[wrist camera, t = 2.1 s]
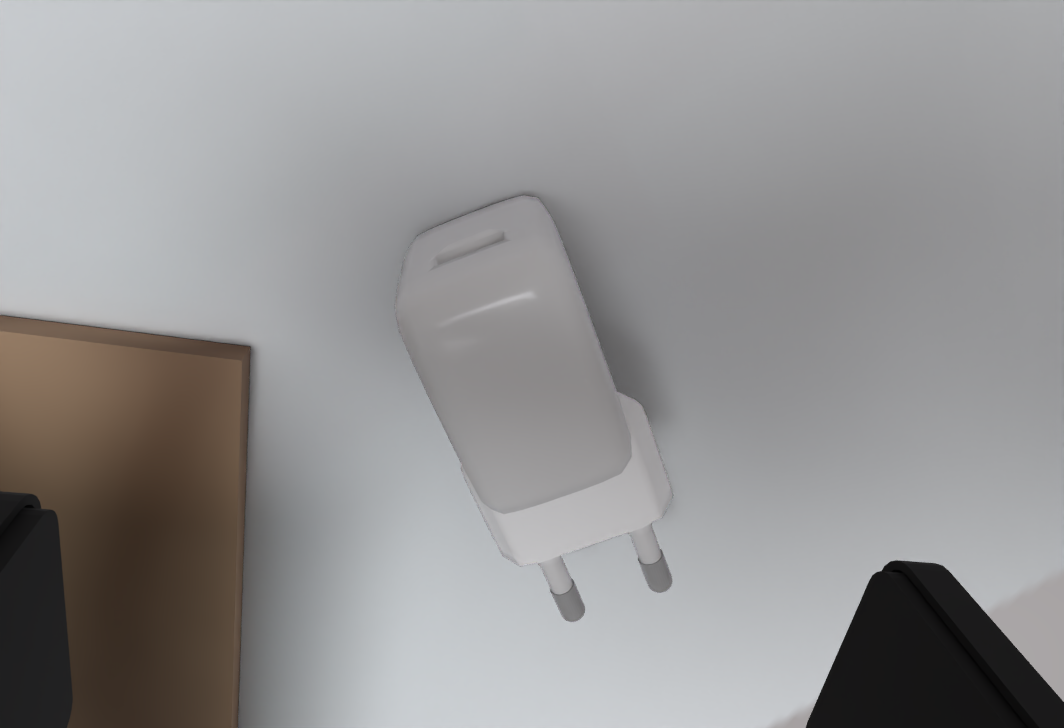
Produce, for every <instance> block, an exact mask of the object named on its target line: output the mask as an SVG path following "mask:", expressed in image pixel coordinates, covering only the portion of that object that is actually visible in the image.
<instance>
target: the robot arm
mask: <svg viewBox="0 0 1064 728" xmlns="http://www.w3.org/2000/svg"><path fill="white" fill-rule="evenodd" d="M72 703H73V693H72V680H71V668H70V656H69V644H68V632H67V620H66V608H65V596H64V584H63V572H62V560H61V548H60V536H59V523H58V517H57V514H56V513H55V511H53V510H51V509H41V504H40V501H39V499H38V497H37V496H35V495H33V494H29V493H16V492H3V491H0V728H67V726H68V723H69V719H70V715H71V711H72ZM806 728H1064V702H1063V701H1062V700H1061V699H1060V697H1059V696H1058V695H1057V694H1056V693H1055V692H1054V690H1053V689H1052V688H1051V687H1050V686H1049V685H1048V684H1047V682H1046V681H1045V680H1044V679H1043V678H1042V677H1041V676H1040V674H1039V673H1038V672H1037V671H1036V670H1035V669H1034V668H1033V667H1032V665H1031V664H1030V663H1029V662H1028V661H1027V660H1026V659H1025V657H1024V656H1023V655H1022V654H1021V653H1020V652H1019V651H1018V649H1017V648H1016V647H1015V646H1014V645H1013V644H1012V643H1011V641H1010V640H1009V639H1008V638H1007V637H1006V636H1005V635H1004V633H1003V632H1002V631H1001V630H1000V629H999V628H998V627H997V625H996V624H995V623H994V622H993V621H992V620H991V619H990V617H989V616H988V615H987V614H986V613H985V612H984V611H983V609H982V608H981V607H980V606H979V605H978V604H977V603H976V601H975V600H974V599H973V598H972V597H971V596H970V595H969V593H968V592H967V591H966V590H965V589H964V588H963V587H962V585H961V584H960V583H959V582H958V581H957V580H956V579H955V577H954V576H953V575H952V574H951V573H950V572H949V571H948V570H947V569H946V568H945V567H943V566H942V565H939V564H936V563H923V562H910V561H891V562H889V563H888V564H887V565H885V566H884V568H883V570H882V571H880V572H876V573H875V574H874V575H873V576H872V577H871V579H870V581H869V583H868V585H867V588H866V590H865V592H864V594H863V597H862V599H861V601H860V604H859V606H858V608H857V610H856V613H855V615H854V617H853V620H852V622H851V624H850V626H849V629H848V631H847V633H846V635H845V638H844V640H843V642H842V645H841V647H840V649H839V651H838V654H837V656H836V658H835V661H834V663H833V665H832V667H831V670H830V672H829V674H828V677H827V679H826V681H825V683H824V686H823V688H822V690H821V693H820V695H819V697H818V699H817V702H816V704H815V706H814V709H813V711H812V713H811V715H810V718H809V720H808V722H807V726H806Z"/></svg>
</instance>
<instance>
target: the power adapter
mask: <svg viewBox="0 0 1064 728" xmlns="http://www.w3.org/2000/svg"><path fill="white" fill-rule="evenodd" d="M395 312H396V317H397V323H398V328H399V333H400V335H401V337H402V340H403V342H404V344H405V347H406V349H407V351H408V353H409V356H410V358H411V360H412V363H413V365H414V367H415V369H416V371H417V373H418V375H419V378H420V380H421V382H422V384H423V386H424V388H425V390H426V392H427V394H428V397H429V399H430V401H431V403H432V405H433V407H434V409H435V411H436V413H437V415H438V417H439V419H440V421H441V423H442V425H443V428H444V430H445V432H446V434H447V436H448V438H449V440H450V442H451V444H452V446H453V448H454V450H455V452H456V454H457V456H458V458H459V460H460V462H461V464H462V465H461V471H462V474H463V476H464V479H465V481H466V483H467V485H468V487H469V489H470V492H471V494H472V496H473V498H474V500H475V502H476V504H477V506H478V508H479V510H480V512H481V514H482V516H483V518H484V520H485V522H486V524H487V526H488V529H489V531H490V533H491V535H492V537H493V539H494V541H495V543H496V545H497V546H498V548H499V550H500V552H501V554H502V556H503V557H505V558H507V559H508V560H510V561H512V562H513V563H515V564H517V565H518V566H524V565H529V564H535V563H537V564H538V565H539V566H540V567H541V569H542V571H543V574H544V576H545V578H546V580H547V582H548V584H549V587H550V591H551V594H552V596H553V598H554V600H555V602H556V604H557V607H558V609H559V611H560V613H561V615H562V617H563V618H564V619H565V620H566V621H569V622H575V621H578V620H579V619H581V618H582V617H583V615H584V613H585V606H584V603H583V601H582V599H581V596H580V594H579V592H578V590H577V587H576V585H575V583H574V581H573V579H572V578H571V577H570V574H569V572H568V570H567V568H566V565H565V563H564V561H563V559H562V556H561V555H564V554H567V553H570V552H573V551H576V550H579V549H582V548H584V547H587V546H590V545H593V544H596V543H599V542H602V541H605V540H608V539H611V538H614V537H617V536H620V535H623V534H625V533H629V534H630V537H631V540H632V542H633V545H634V547H635V550H636V552H637V555H638V561H639V563H640V566H641V568H642V571H643V574H644V576H645V579H646V581H647V584H648V586H649V588H650V589H651V590H652V591H654V592H657V593H661V592H665V591H667V590H668V589H669V588H670V587H671V585H672V576H671V573H670V571H669V568H668V565H667V563H666V560H665V557H664V554H663V552H662V550H661V549H660V547H659V544H658V542H657V539H656V536H655V534H654V531H653V528H652V522H654V521H656V520H658V519H661V518H662V517H663V516H664V514H665V512H666V510H667V508H668V506H669V504H670V503H671V501H672V499H673V493H672V489H671V485H670V482H669V479H668V476H667V473H666V470H665V467H664V464H663V461H662V458H661V456H660V453H659V450H658V447H657V444H656V441H655V438H654V435H653V433H652V430H651V427H650V424H649V421H648V418H647V415H646V413H645V411H644V409H643V407H642V405H641V404H640V403H639V402H637V401H636V400H635V399H633V398H631V397H628V396H626V395H624V394H622V393H620V392H617V391H616V388H615V385H614V382H613V379H612V376H611V374H610V371H609V368H608V365H607V362H606V359H605V357H604V354H603V351H602V348H601V345H600V343H599V340H598V337H597V334H596V332H595V329H594V326H593V323H592V321H591V318H590V315H589V312H588V309H587V307H586V304H585V301H584V299H583V296H582V293H581V290H580V288H579V285H578V282H577V280H576V277H575V274H574V272H573V269H572V266H571V264H570V261H569V259H568V256H567V253H566V251H565V248H564V246H563V243H562V241H561V238H560V236H559V233H558V231H557V228H556V226H555V223H554V221H553V219H552V217H551V215H550V214H549V212H548V211H547V209H546V208H545V207H544V205H543V204H542V202H541V201H540V199H539V198H536V197H531V196H525V195H522V196H518V197H515V198H511V199H508V200H505V201H502V202H499V203H496V204H493V205H490V206H488V207H485V208H482V209H480V210H477V211H475V212H472V213H469V214H467V215H464V216H461V217H459V218H456V219H454V220H451V221H449V222H446V223H444V224H441V225H439V226H437V227H434V228H432V229H430V230H428V231H426V232H424V233H422V234H420V235H418V236H417V237H416V238H415V240H414V241H413V242H412V244H411V245H410V246H409V247H408V250H407V252H406V254H405V257H404V261H403V264H402V269H401V273H400V277H399V282H398V287H397V292H396V300H395Z"/></svg>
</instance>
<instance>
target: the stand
mask: <svg viewBox="0 0 1064 728" xmlns="http://www.w3.org/2000/svg"><path fill="white" fill-rule="evenodd" d="M249 374H250V347H248V346H240V345H232V344H224V343H216V342H208V341H200V340H192V339H184V338H176V337H168V336H160V335H152V334H144V333H136V332H128V331H120V330H112V329H104V328H96V327H88V326H80V325H72V324H64V323H56V322H48V321H40V320H32V319H24V318H16V317H8V316H0V491H3V492H16V493H29V494H33V495H35V496H37V497H38V499H39V501H40V504H41V509H51V510H53V511H55V513H56V514H57V517H58V523H59V536H60V548H61V560H62V572H63V584H64V596H65V608H66V620H67V632H68V644H69V656H70V668H71V680H72V693H73V703H72V711H71V715H70V719H69V723H68V726H67V728H238V706H239V676H240V646H241V616H242V585H243V555H244V525H245V495H246V464H247V434H248V404H249Z"/></svg>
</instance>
